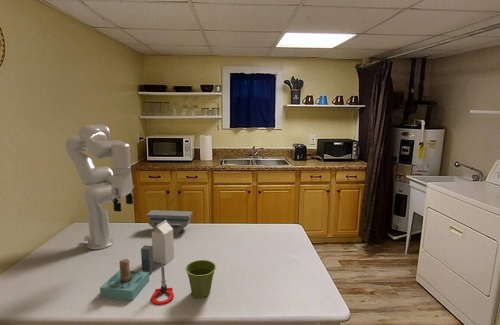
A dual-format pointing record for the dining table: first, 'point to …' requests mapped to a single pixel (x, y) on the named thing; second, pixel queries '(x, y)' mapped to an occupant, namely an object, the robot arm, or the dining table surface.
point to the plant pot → (200, 277)
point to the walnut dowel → (125, 271)
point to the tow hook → (162, 290)
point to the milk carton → (163, 243)
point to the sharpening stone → (170, 219)
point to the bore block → (124, 286)
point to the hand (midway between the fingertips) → (123, 207)
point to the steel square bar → (147, 259)
